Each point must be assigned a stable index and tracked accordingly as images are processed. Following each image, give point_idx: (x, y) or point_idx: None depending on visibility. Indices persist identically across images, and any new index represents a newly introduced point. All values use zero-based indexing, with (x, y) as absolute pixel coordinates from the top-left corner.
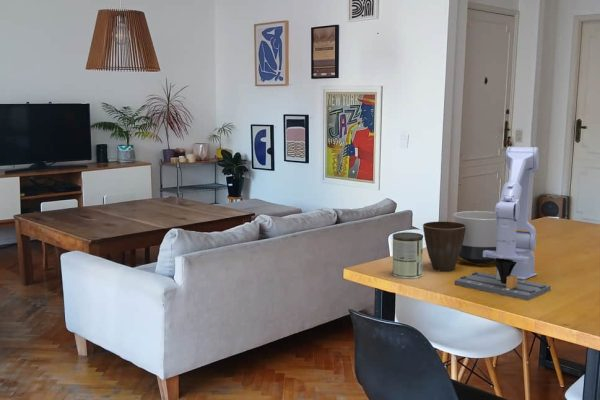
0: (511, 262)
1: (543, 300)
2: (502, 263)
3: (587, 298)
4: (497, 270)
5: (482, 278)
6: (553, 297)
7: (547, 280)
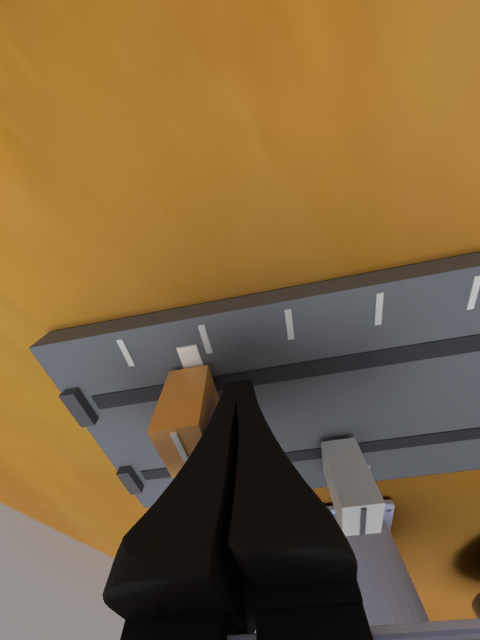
0: (124, 618)
1: (31, 385)
2: (189, 555)
3: (17, 497)
4: (373, 490)
5: (429, 407)
6: (63, 440)
7: None
